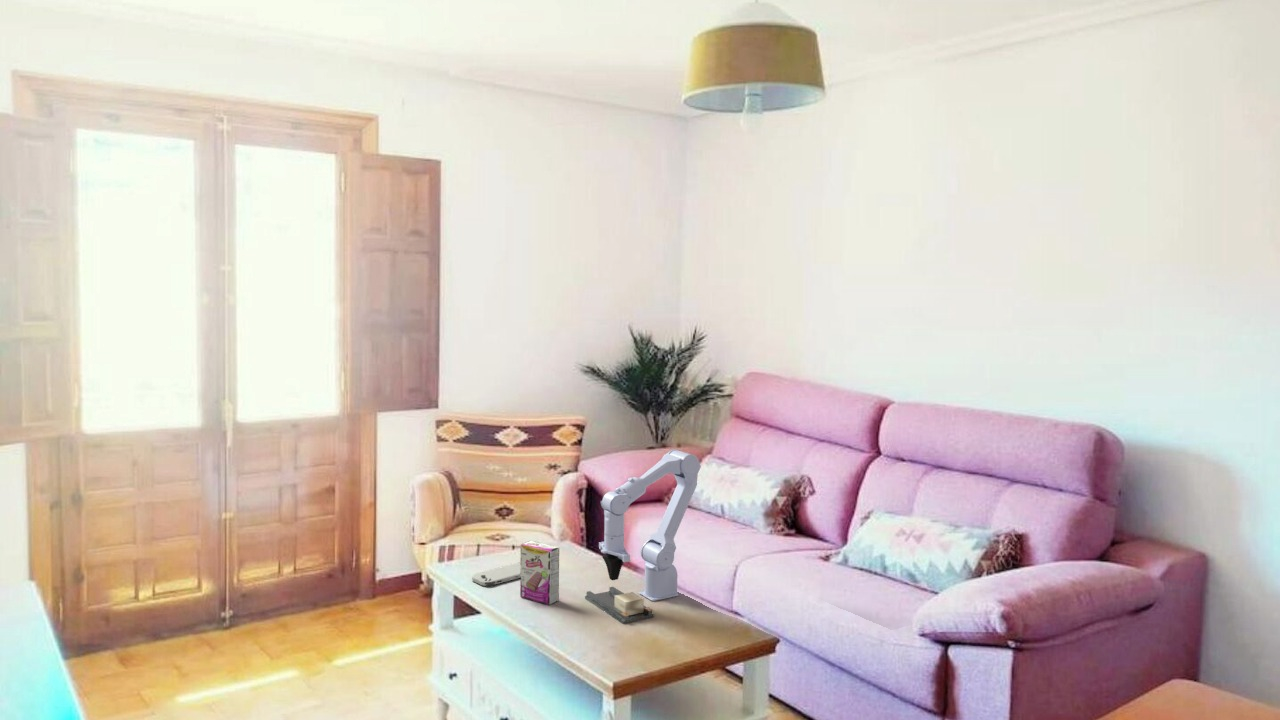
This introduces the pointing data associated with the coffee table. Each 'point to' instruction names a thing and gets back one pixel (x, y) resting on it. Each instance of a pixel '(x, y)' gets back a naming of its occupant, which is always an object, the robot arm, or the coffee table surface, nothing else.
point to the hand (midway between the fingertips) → (613, 579)
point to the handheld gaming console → (498, 575)
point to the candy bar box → (539, 572)
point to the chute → (607, 604)
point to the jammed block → (629, 603)
